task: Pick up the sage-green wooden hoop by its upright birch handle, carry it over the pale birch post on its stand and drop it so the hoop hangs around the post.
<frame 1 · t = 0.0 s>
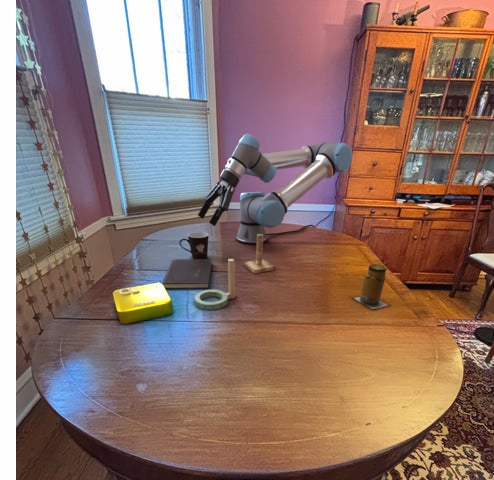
hand: (205, 220, 123), 15 cm above the table, tool tilted 35°, fingers open, 13 cm apart
condiment: (370, 302, 98), on the table
coffee mug: (196, 257, 130), on the table
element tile: (144, 308, 91), on the table
post: (258, 267, 121), on the table
hoop: (211, 301, 95), on the table
hardcover book: (189, 276, 113), on the table
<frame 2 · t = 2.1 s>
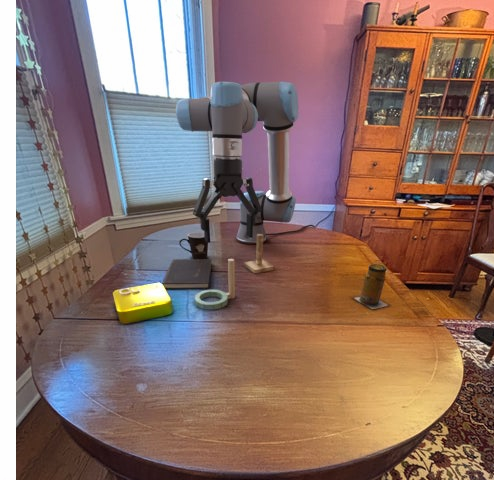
hand: (229, 239, 88), 19 cm above the table, tool pointing down, fingers open, 13 cm apart
nothing on the table moved.
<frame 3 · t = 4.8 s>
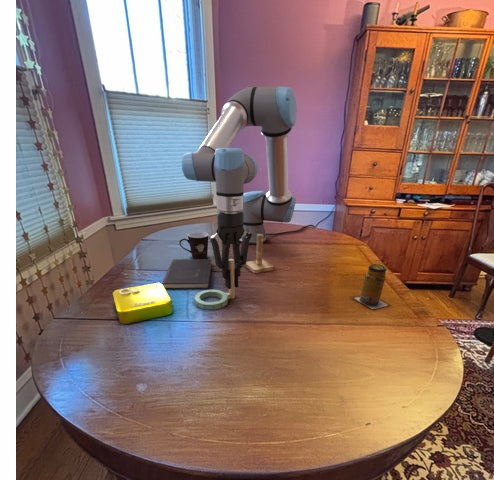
hand: (231, 286, 96), 4 cm above the table, tool pointing down, fingers closed on hoop, 2 cm apart
hoop: (211, 301, 95), on the table, touching gripper
everything else where it was.
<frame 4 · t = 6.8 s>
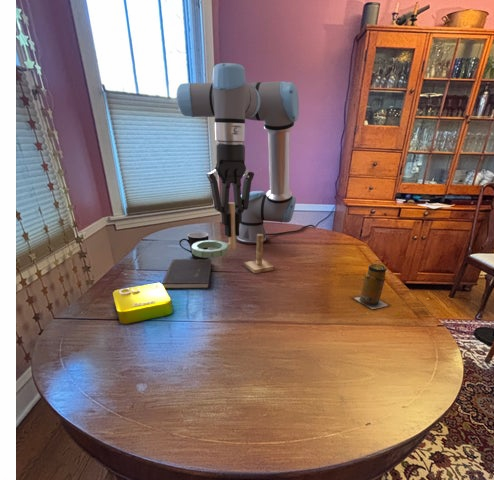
hand: (232, 235, 88), 20 cm above the table, tool pointing down, fingers closed on hoop, 2 cm apart
hoop: (210, 251, 88), point 16 cm above the table, touching gripper
everything else where it was.
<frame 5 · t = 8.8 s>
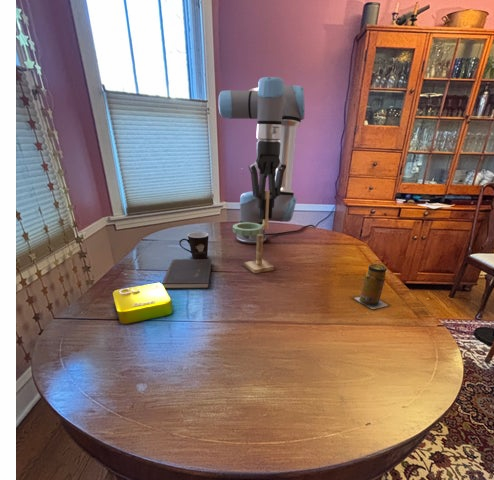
hand: (265, 217, 106), 21 cm above the table, tool pointing down, fingers closed on hoop, 2 cm apart
hoop: (247, 231, 105), point 17 cm above the table, touching gripper
everything else where it was.
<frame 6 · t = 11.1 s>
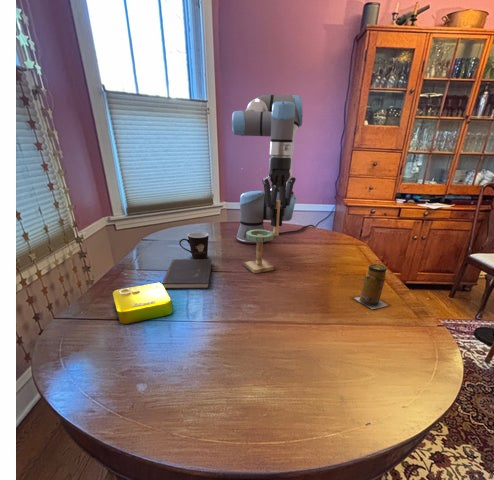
hand: (276, 225, 116), 16 cm above the table, tool pointing down, fingers closed on hoop, 2 cm apart
hoop: (259, 237, 115), point 12 cm above the table, touching gripper
everything else where it was.
when the fingers open (12 cm above the table, at t = 12.8 s): hoop drops 6 cm, resting on post.
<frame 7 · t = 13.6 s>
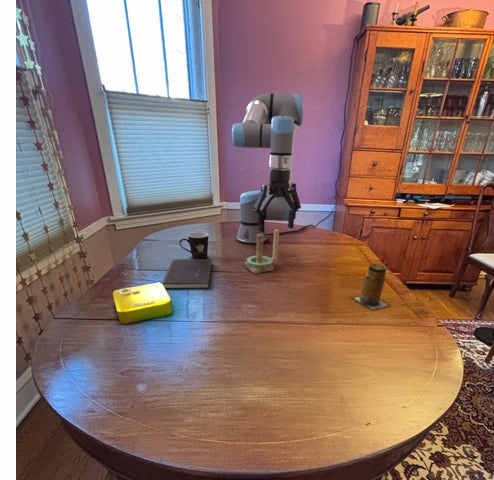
hand: (276, 229, 117), 15 cm above the table, tool pointing down, fingers open, 13 cm apart
hoop: (259, 264, 121), point 1 cm above the table, touching post
everything else where it was.
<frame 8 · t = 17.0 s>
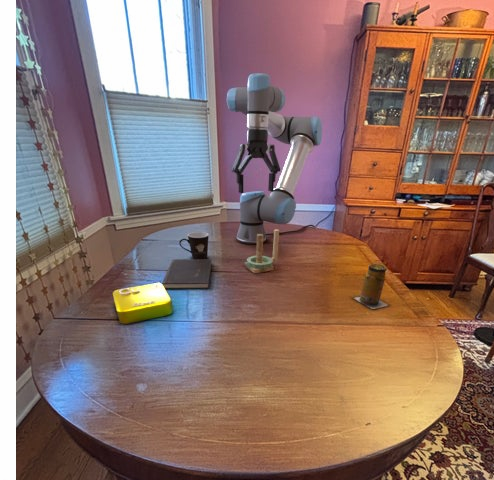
hand: (256, 192, 119), 27 cm above the table, tool pointing down, fingers open, 13 cm apart
nothing on the table moved.
at the end: hoop 0.3 cm off-centre on the post, point 1.5 cm above the post's base; the gripper is holding nothing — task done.
